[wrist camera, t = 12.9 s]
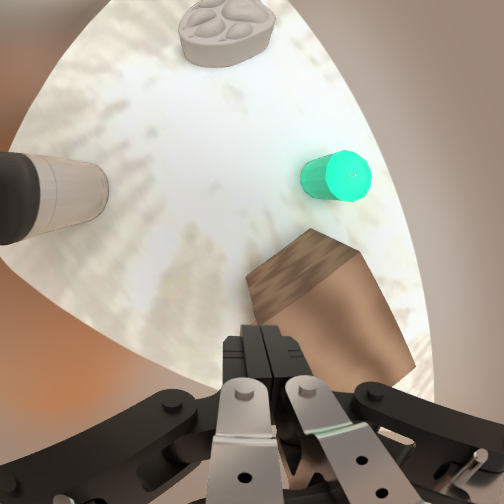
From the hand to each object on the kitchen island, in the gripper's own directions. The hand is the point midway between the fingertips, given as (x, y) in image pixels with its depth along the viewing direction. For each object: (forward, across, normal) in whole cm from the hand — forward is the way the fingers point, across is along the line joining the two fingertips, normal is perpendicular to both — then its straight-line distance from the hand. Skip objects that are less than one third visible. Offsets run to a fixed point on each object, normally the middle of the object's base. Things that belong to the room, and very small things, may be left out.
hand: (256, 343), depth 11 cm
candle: (+29, -12, -9) cm, 33 cm away
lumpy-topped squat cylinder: (+29, +4, -31) cm, 43 cm away
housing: (+29, -13, +10) cm, 33 cm away
